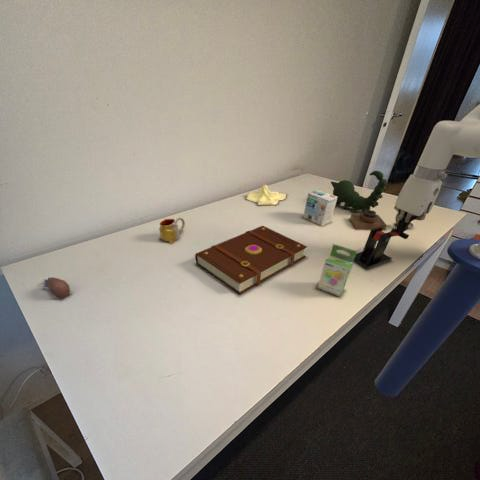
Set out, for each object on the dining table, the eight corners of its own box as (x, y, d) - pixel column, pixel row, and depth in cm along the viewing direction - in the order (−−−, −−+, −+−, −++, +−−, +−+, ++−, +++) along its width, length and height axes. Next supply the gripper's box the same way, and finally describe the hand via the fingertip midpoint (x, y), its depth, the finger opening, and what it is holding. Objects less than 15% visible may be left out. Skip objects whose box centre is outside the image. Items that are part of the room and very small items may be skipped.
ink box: (316, 288, 80) (328, 249, 71) (321, 282, 83) (333, 243, 73) (339, 297, 78) (353, 257, 68) (343, 290, 80) (358, 251, 70)
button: (372, 214, 112) (374, 210, 111) (375, 218, 109) (377, 214, 108) (363, 214, 112) (364, 210, 111) (366, 218, 109) (367, 213, 108)
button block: (376, 219, 117) (380, 210, 114) (384, 230, 110) (388, 220, 107) (349, 219, 117) (352, 210, 114) (356, 229, 110) (359, 219, 107)
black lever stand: (372, 250, 97) (384, 222, 90) (390, 261, 92) (404, 232, 85) (349, 258, 93) (359, 229, 85) (366, 269, 88) (379, 240, 81)
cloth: (265, 208, 123) (267, 195, 119) (238, 197, 132) (238, 184, 128) (294, 197, 134) (296, 184, 130) (267, 187, 144) (268, 175, 139)
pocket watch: (412, 224, 114) (424, 200, 107) (412, 232, 109) (425, 208, 101) (392, 220, 116) (402, 197, 109) (391, 228, 111) (402, 204, 104)
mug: (170, 244, 98) (166, 227, 93) (157, 239, 100) (153, 222, 96) (192, 233, 104) (190, 216, 100) (180, 228, 107) (177, 212, 103)
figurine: (42, 291, 79) (58, 303, 73) (32, 276, 76) (47, 287, 70) (60, 283, 82) (77, 293, 76) (51, 268, 79) (68, 278, 73)
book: (305, 257, 93) (308, 245, 89) (240, 295, 77) (241, 281, 74) (260, 234, 104) (260, 222, 101) (195, 263, 89) (193, 250, 85)
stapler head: (391, 233, 94) (395, 226, 93) (406, 240, 90) (410, 233, 89) (368, 236, 88) (371, 229, 87) (382, 243, 85) (386, 236, 83)
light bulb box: (302, 217, 117) (307, 192, 109) (312, 214, 120) (317, 189, 112) (321, 226, 111) (328, 200, 103) (331, 222, 114) (338, 196, 107)
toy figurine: (374, 216, 123) (330, 196, 134) (396, 173, 109) (344, 155, 120) (365, 222, 118) (320, 201, 129) (386, 178, 104) (333, 158, 115)
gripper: (460, 179, 74) (426, 238, 87) (413, 165, 84) (389, 221, 97) (444, 182, 72) (411, 243, 85) (398, 167, 81) (375, 224, 94)
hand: (399, 231), depth 91 cm, fingers closed
